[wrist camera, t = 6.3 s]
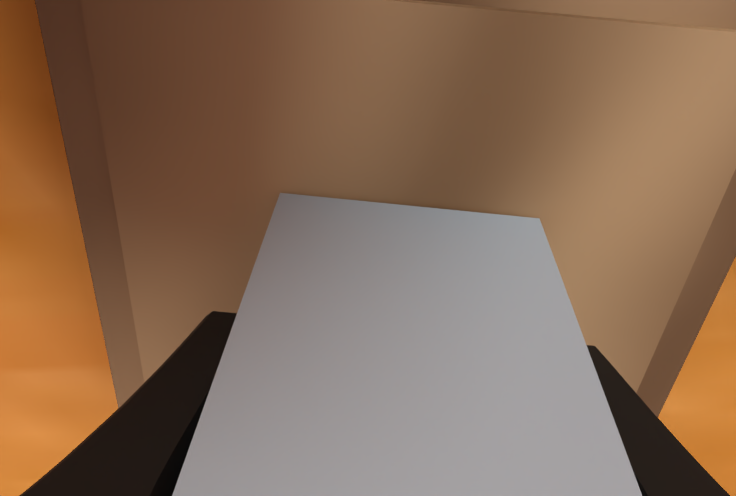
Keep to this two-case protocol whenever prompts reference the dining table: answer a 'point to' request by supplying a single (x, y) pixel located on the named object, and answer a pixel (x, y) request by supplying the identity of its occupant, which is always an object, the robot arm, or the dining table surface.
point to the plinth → (402, 148)
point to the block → (404, 364)
